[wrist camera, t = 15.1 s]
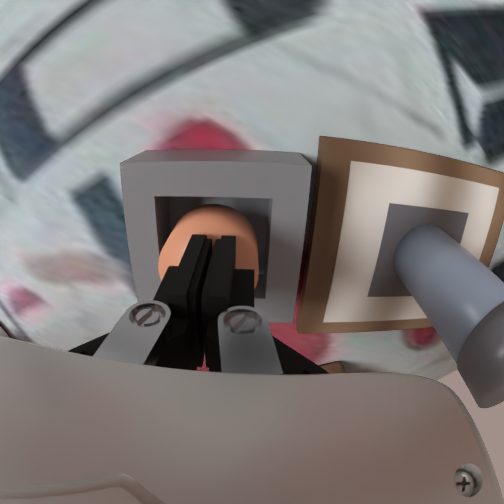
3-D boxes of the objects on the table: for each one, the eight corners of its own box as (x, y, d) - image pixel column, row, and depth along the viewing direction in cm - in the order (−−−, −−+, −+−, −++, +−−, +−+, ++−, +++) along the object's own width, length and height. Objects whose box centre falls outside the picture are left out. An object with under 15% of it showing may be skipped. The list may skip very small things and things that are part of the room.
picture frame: (296, 323, 20) (298, 334, 19) (319, 135, 15) (324, 137, 14) (458, 316, 20) (465, 324, 19) (504, 173, 15) (515, 177, 14)
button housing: (156, 280, 18) (140, 315, 15) (145, 150, 15) (119, 163, 12) (285, 285, 19) (292, 322, 16) (298, 152, 15) (311, 165, 12)
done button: (175, 279, 15) (164, 309, 13) (169, 202, 13) (153, 223, 11) (255, 282, 15) (256, 314, 13) (259, 205, 13) (261, 226, 11)
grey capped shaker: (383, 283, 17) (458, 416, 8) (402, 217, 15) (517, 330, 6) (436, 286, 17) (517, 398, 8) (456, 227, 16) (565, 323, 7)
